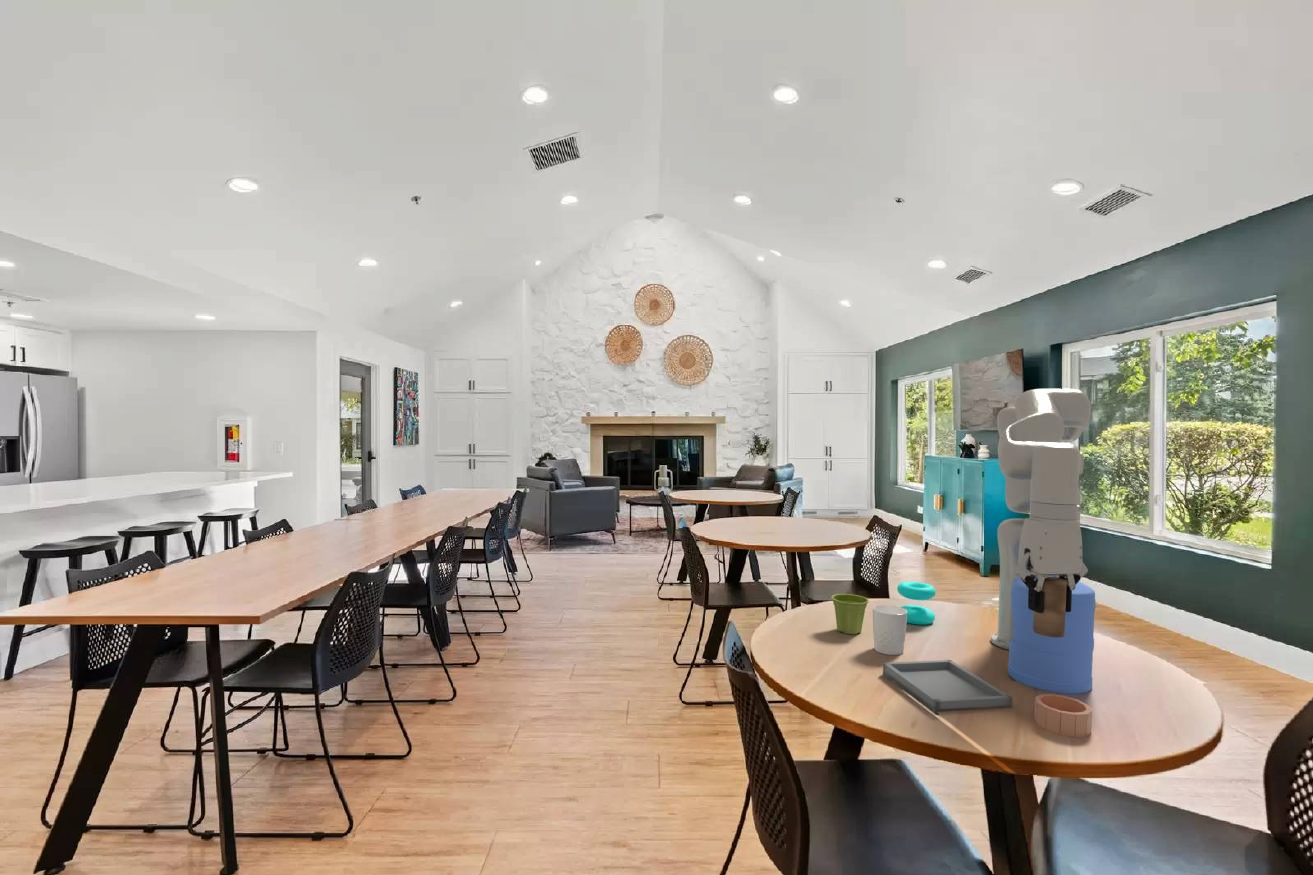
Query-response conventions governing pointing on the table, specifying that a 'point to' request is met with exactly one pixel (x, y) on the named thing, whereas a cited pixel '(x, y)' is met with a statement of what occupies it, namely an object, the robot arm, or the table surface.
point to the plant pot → (849, 612)
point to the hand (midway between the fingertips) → (1049, 609)
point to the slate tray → (945, 686)
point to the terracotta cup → (1063, 715)
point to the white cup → (889, 629)
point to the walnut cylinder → (1052, 608)
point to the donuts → (917, 592)
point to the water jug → (1053, 644)
